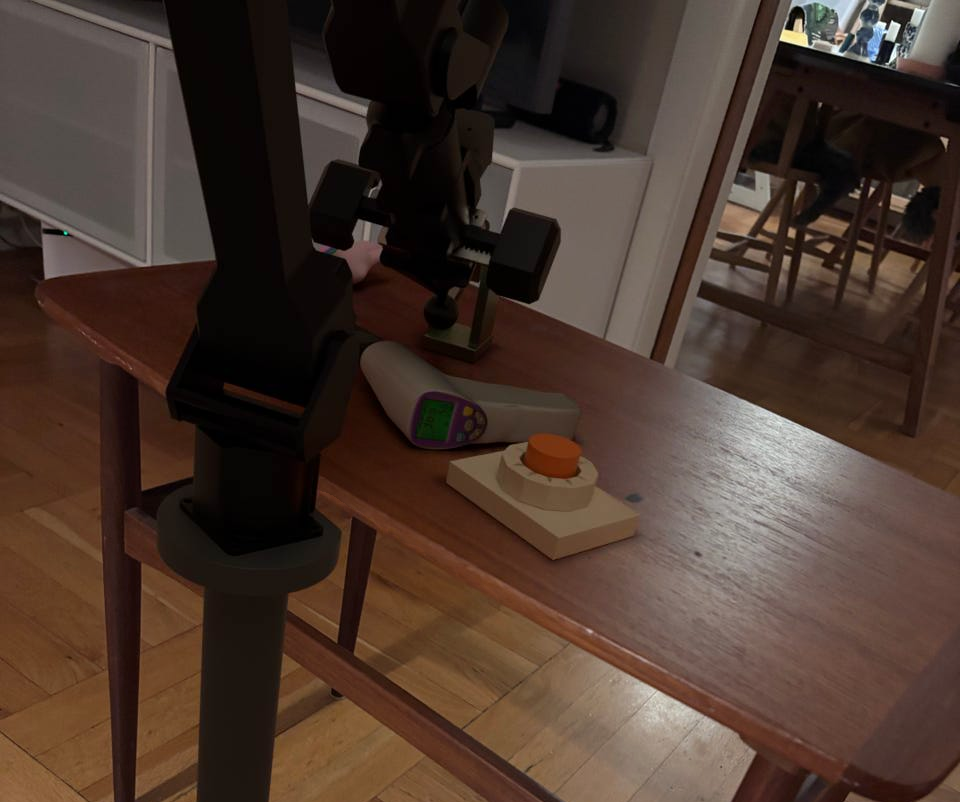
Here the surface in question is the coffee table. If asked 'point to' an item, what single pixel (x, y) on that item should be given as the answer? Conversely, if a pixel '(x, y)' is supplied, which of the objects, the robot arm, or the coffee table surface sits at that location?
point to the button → (552, 456)
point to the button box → (543, 502)
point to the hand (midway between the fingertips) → (444, 291)
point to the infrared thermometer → (459, 403)
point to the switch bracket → (468, 329)
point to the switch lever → (446, 305)
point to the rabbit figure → (358, 257)
